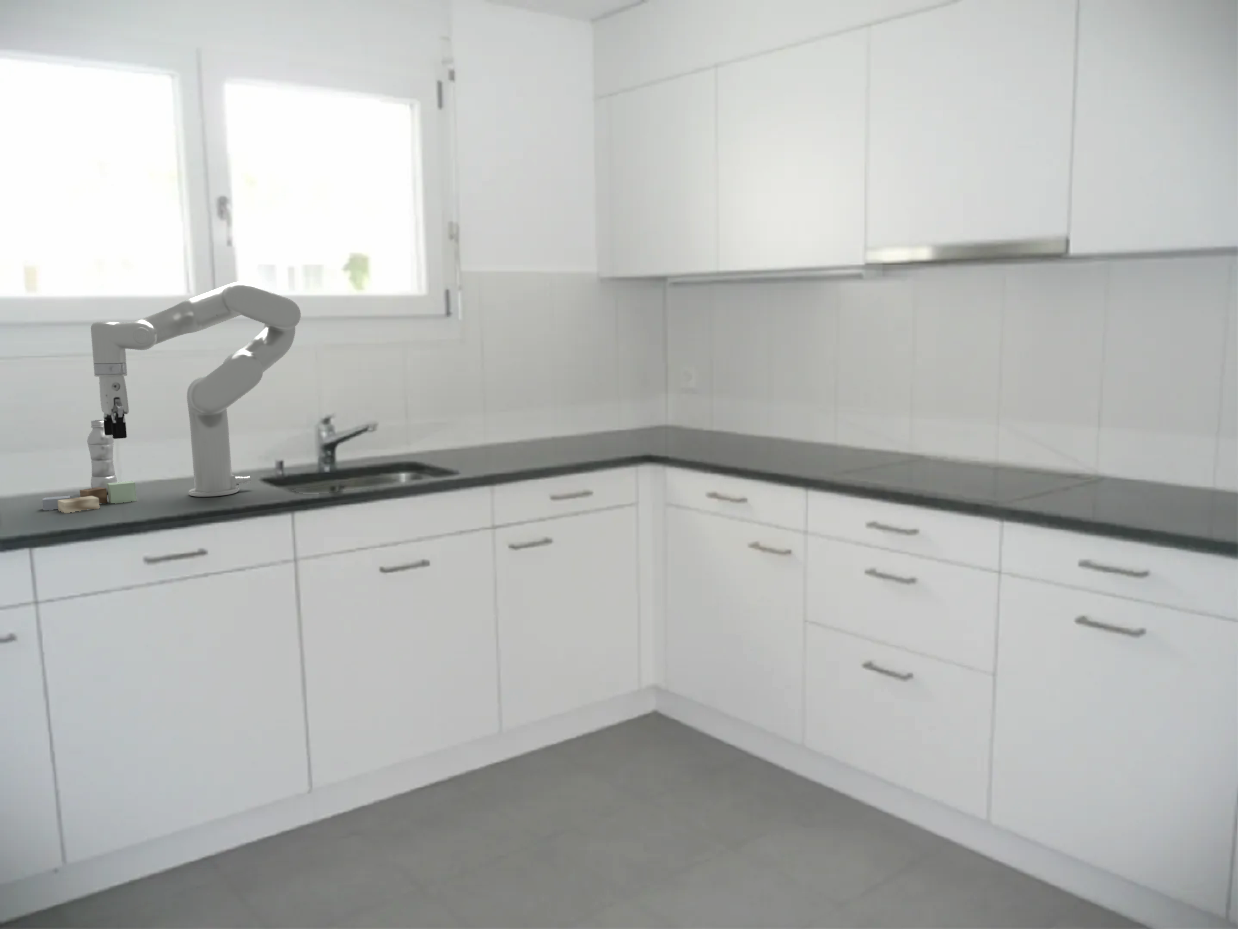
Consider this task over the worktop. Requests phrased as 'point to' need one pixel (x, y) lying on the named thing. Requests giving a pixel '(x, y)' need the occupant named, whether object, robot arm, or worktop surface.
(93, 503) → the birch brick
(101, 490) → the walnut brick
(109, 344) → the robot arm
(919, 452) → the worktop surface
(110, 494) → the sage brick
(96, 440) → the plastic bottle
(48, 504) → the slate brick
